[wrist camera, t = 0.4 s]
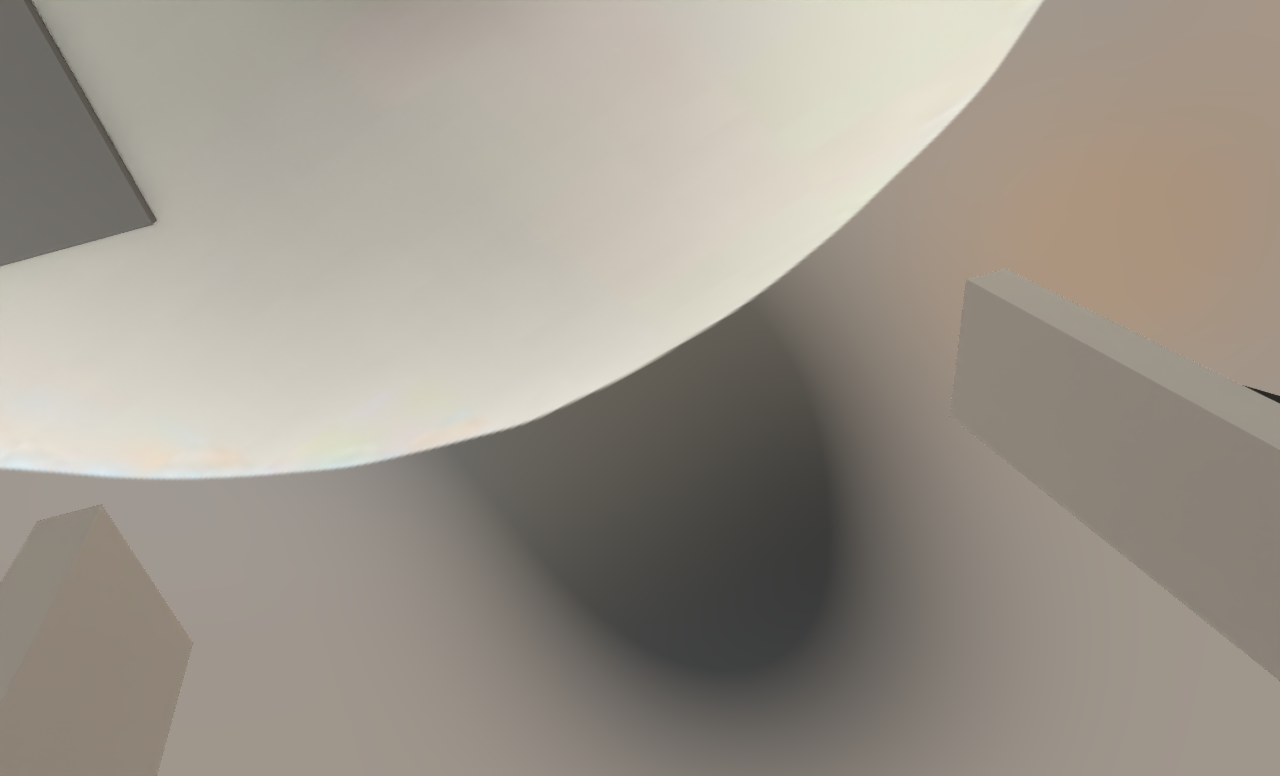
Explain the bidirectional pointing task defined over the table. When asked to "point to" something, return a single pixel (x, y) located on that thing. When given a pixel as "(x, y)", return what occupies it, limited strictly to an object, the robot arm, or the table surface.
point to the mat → (53, 150)
